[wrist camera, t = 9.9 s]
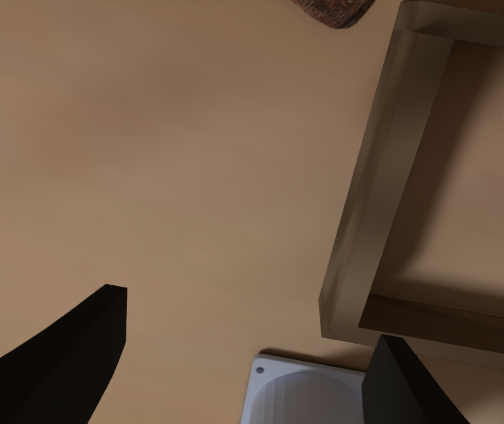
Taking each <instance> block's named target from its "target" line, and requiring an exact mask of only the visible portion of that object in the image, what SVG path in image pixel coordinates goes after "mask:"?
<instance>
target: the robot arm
mask: <svg viewBox="0 0 504 424" xmlns="http://www.w3.org/2000/svg"><path fill="white" fill-rule="evenodd" d="M126 318H127V288H126V287H120V286H115V285H109V284H105V285H104V286H102V287H101V288H100V289H98V290H97V291H96V292H94V293H93V294H92V295H90V296H89V297H88V298H86V299H85V300H84V301H82V302H81V303H80V304H79V305H77V306H76V307H75V308H73V309H72V310H71V311H69V312H68V313H67V314H65V315H64V316H62V317H61V318H60V319H58V320H57V321H55V322H54V323H53V324H51V325H50V326H48V327H47V328H46V329H44V330H43V331H41V332H40V333H38V334H37V335H35V336H34V337H32V338H31V339H29V340H28V341H26V342H24V343H23V344H21V345H20V346H18V347H17V348H15V349H14V350H12V351H11V352H9V353H7V354H6V355H4V356H2V357H1V358H0V424H88V422H89V420H90V418H91V416H92V414H93V412H94V410H95V409H96V407H97V405H98V403H99V401H100V399H101V397H102V395H103V394H104V392H105V390H106V388H107V386H108V384H109V382H110V380H111V378H112V376H113V374H114V372H115V369H116V367H117V364H118V362H119V359H120V356H121V354H122V351H123V349H124V346H125V343H126ZM258 367H262V369H260V368H258ZM240 424H470V423H469V422H468V421H467V420H466V418H465V417H464V416H463V415H462V414H461V412H460V411H459V410H458V409H457V408H456V406H455V405H454V404H453V403H452V401H451V400H450V399H449V398H448V396H447V395H446V394H445V393H444V391H443V390H442V389H441V387H440V386H439V385H438V384H437V382H436V381H435V380H434V378H433V377H432V376H431V374H430V373H429V372H428V370H427V369H426V368H425V366H424V365H423V364H422V362H421V361H420V360H419V358H418V357H417V356H416V354H415V353H414V352H413V350H412V349H411V348H410V346H409V345H408V344H407V342H406V341H405V340H404V339H403V338H402V337H397V336H391V335H386V334H381V335H380V338H379V340H378V343H377V346H376V348H375V351H374V353H373V356H372V359H371V361H370V364H369V366H368V369H367V372H366V373H365V372H359V371H354V370H348V369H343V368H337V367H332V366H327V365H321V364H316V363H310V362H305V361H299V360H294V359H288V358H283V357H277V356H272V355H266V354H258V355H256V356H255V357H254V360H253V365H252V370H251V374H250V379H249V384H248V389H247V393H246V398H245V403H244V408H243V413H242V417H241V422H240Z"/></svg>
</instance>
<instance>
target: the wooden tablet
mask: <svg viewBox="0 0 504 424" xmlns="http://www.w3.org/2000/svg"><path fill="white" fill-rule="evenodd" d="M291 1H293V2H294V3H295V4H297V5H298V6H300V7H301V8H302V9H303V10H304V11H305V12H306V13H308V14H309V15H310V16H312V17H313V18H315V19H316V20H318V21H319V22H321V23H323V24H325V25H327V26H328V27H330V28H333V29H341V28H349V27H351V26H353V25H354V24H355V23H356V22H357V21H358V20H359V19H360V18H361V16H362V15H363V14H364V12H365V11H366V9H367V8H368V7H369V5H370V4H371V2H372V1H373V0H291Z"/></svg>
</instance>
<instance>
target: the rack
mask: <svg viewBox="0 0 504 424" xmlns="http://www.w3.org/2000/svg"><path fill="white" fill-rule="evenodd" d="M450 38H451V39H450ZM455 39H456V40H462V41H468V42H474V43H480V44H486V45H491V46H497V47H503V48H504V15H503V14H497V13H491V12H485V11H479V10H473V9H468V8H462V7H456V6H450V5H444V4H438V3H432V2H427V1H409V2H401V4H400V7H399V11H398V15H397V18H396V22H395V25H394V29H393V33H392V36H391V40H390V43H389V47H388V51H387V54H386V58H385V62H384V65H383V69H382V72H381V76H380V80H379V83H378V87H377V90H376V94H375V98H374V101H373V105H372V109H371V112H370V116H369V119H368V123H367V127H366V130H365V134H364V137H363V141H362V145H361V148H360V152H359V155H358V159H357V163H356V166H355V170H354V174H353V177H352V181H351V184H350V188H349V192H348V195H347V199H346V202H345V206H344V210H343V213H342V217H341V221H340V224H339V228H338V231H337V235H336V239H335V242H334V246H333V249H332V253H331V257H330V260H329V264H328V268H327V271H326V275H325V278H324V282H323V286H322V289H321V293H320V296H319V300H318V301H319V313H320V324H321V336H322V337H323V338H329V339H334V340H340V341H345V342H351V343H356V344H362V345H367V346H373V347H376V346H377V343H378V340H379V338H380V335H381V334H386V335H391V336H397V337H402V338H403V339H404V340H405V341H406V342H407V344H408V345H409V346H410V348H411V349H412V350H413V352H414V353H415V354H417V355H422V356H428V357H433V358H439V359H444V360H450V361H455V362H461V363H466V364H472V365H477V366H483V367H488V368H494V369H499V370H504V318H498V317H493V316H487V315H481V314H476V313H470V312H465V311H459V310H454V309H448V308H443V307H437V306H432V305H426V304H420V303H415V302H409V301H404V300H398V299H393V298H387V297H382V296H376V295H370V294H369V292H370V289H371V286H372V283H373V280H374V277H375V274H376V271H377V268H378V265H379V262H380V259H381V256H382V253H383V250H384V247H385V245H386V242H387V239H388V236H389V233H390V230H391V227H392V224H393V221H394V218H395V215H396V212H397V209H398V206H399V203H400V200H401V197H402V194H403V191H404V188H405V185H406V183H407V180H408V177H409V174H410V171H411V168H412V165H413V162H414V159H415V156H416V153H417V150H418V147H419V144H420V141H421V138H422V135H423V132H424V129H425V126H426V123H427V120H428V118H429V115H430V112H431V109H432V106H433V103H434V100H435V97H436V94H437V91H438V88H439V85H440V82H441V79H442V76H443V73H444V70H445V67H446V64H447V61H448V58H449V56H450V53H451V50H452V47H453V44H454V41H455Z"/></svg>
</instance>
